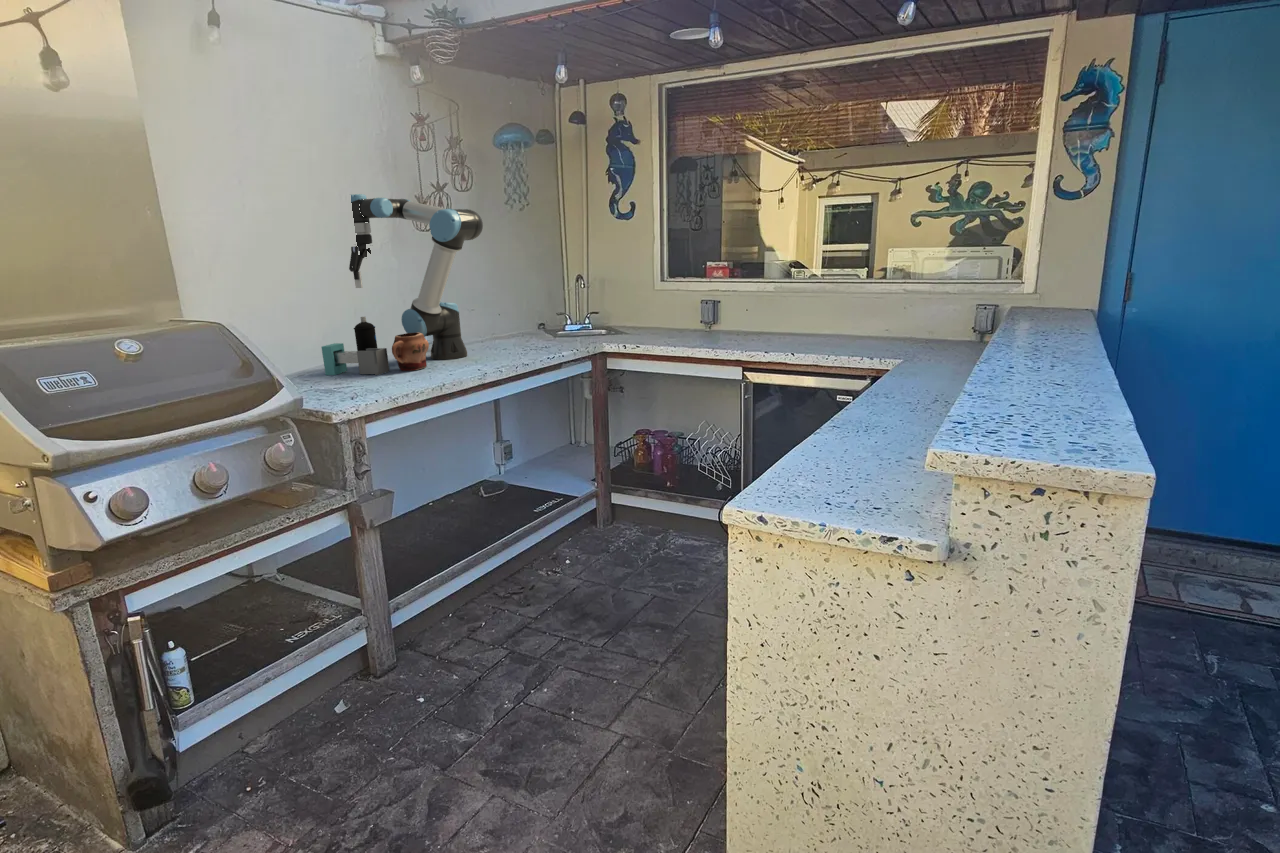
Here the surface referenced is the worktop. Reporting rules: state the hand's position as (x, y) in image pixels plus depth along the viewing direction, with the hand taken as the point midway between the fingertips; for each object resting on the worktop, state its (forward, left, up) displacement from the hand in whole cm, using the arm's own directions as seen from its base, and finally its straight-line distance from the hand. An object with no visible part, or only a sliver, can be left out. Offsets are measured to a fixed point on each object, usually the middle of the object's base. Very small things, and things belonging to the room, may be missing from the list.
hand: (368, 286), depth 303 cm
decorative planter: (-29, +24, -31) cm, 49 cm away
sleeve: (-17, +31, -31) cm, 47 cm away
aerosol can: (-6, +16, -31) cm, 36 cm away
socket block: (-1, +31, -31) cm, 44 cm away
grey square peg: (-8, +31, -27) cm, 42 cm away
